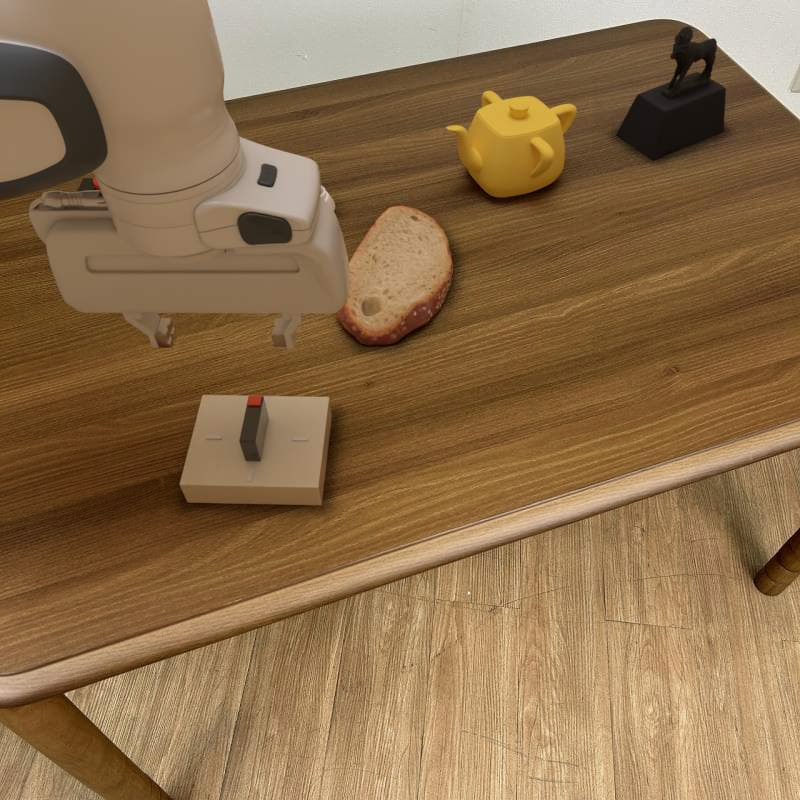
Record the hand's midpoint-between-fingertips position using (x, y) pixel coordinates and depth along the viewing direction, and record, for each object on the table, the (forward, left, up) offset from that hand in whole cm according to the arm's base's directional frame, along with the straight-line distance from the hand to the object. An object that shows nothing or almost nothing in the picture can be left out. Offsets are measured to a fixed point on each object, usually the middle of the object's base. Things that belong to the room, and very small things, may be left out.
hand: (225, 342), depth 58 cm
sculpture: (+49, +55, -15) cm, 75 cm away
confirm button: (-22, +36, -12) cm, 44 cm away
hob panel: (+1, 0, -15) cm, 15 cm away
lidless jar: (+2, +37, -15) cm, 40 cm away
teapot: (+26, +44, -15) cm, 53 cm away
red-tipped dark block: (+1, 0, -12) cm, 12 cm away
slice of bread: (+12, +25, -15) cm, 31 cm away
